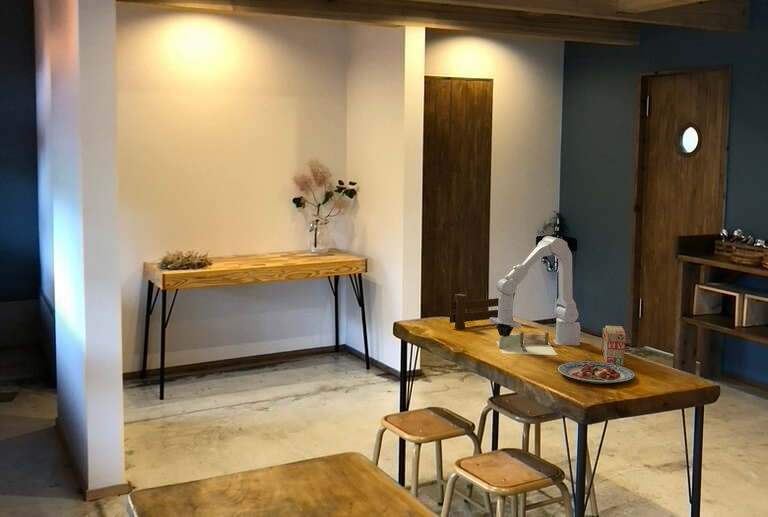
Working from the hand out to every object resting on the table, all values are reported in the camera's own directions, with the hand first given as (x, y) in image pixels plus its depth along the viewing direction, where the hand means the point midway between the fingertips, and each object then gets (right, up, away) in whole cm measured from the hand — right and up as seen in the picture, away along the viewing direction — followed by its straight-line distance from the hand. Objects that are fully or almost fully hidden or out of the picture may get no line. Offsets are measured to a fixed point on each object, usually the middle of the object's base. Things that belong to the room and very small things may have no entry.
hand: (504, 343), depth 339 cm
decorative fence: (-4, +4, +38) cm, 38 cm away
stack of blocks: (+39, -5, -14) cm, 41 cm away
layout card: (+8, -2, -2) cm, 9 cm away
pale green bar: (+2, -1, -1) cm, 2 cm away
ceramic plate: (+26, -8, -40) cm, 48 cm away
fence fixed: (+12, -1, +4) cm, 13 cm away
